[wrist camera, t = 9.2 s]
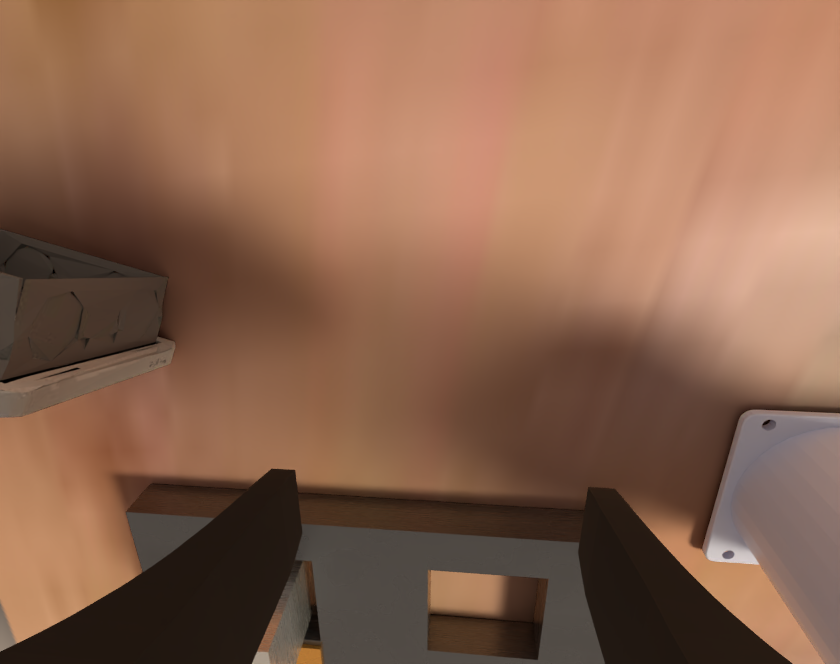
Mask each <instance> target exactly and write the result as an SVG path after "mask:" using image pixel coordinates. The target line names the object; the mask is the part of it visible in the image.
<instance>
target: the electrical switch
mask: <svg viewBox="0 0 840 664" xmlns="http://www.w3.org/2000/svg"><path fill="white" fill-rule="evenodd" d="M27 246H28V247H27ZM25 247H26V248H25ZM44 254H45V255H48V256H49V258H50V259H49V258H48V257H46V256H45V255H44ZM6 260H7V262H6V267H5V265H4V262H5V261H6ZM53 268H54V270H55V274H52V271H53ZM115 271H116V272H118V273H113V272H115ZM167 281H168V277H163V276H160V275H156V274H153V273H150V272H146V271H143V270H139V269H136V268H132V267H129V266H126V265H122V264H119V263H115V262H112V261H108V260H105V259H102V258H98V257H95V256H91V255H88V254H84V253H81V252H78V251H74V250H71V249H67V248H64V247H61V246H57V245H54V244H50V243H47V242H43V241H40V240H37V239H33V238H30V237H26V236H23V235H19V234H16V233H13V232H9V231H6V230H2V229H0V417H22V416H25V415H28V414H30V413H33V412H36V411H39V410H42V409H45V408H47V407H50V406H53V405H56V404H59V403H62V402H64V401H67V400H70V399H73V398H76V397H79V396H81V395H84V394H87V393H90V392H93V391H96V390H98V389H101V388H104V387H107V386H110V385H113V384H115V383H118V382H121V381H124V380H127V379H130V378H132V377H135V376H138V375H141V374H144V373H147V372H149V371H152V370H155V369H158V368H160V367H163V366H166V365H169V364H171V360H172V357H173V354H174V350H175V347H176V346H175V342H174V341H171V340H168V339H164V338H161V337H157V336H158V332H159V328H160V324H161V320H162V303H163V299H164V295H165V290H166V286H167ZM71 292H73V294H74V296H73V294H72V293H71Z"/></svg>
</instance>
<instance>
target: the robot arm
mask: <svg viewBox="0 0 840 664" xmlns="http://www.w3.org/2000/svg"><path fill="white" fill-rule="evenodd" d="M767 420H770V422H769V423H768V424H766V425H762V424H763V423H764V422H765V421H767ZM301 537H302V524H301V516H300V508H299V499H298V491H297V482H296V474H295V470H284V469H271V470H270V471H268V472H267V473H266V474H265V475H264V476H263V477H261V478H260V479H259V480H258V481H257V482H256V483H255V484H253V485H252V486H251V487H250V488H249V489H248V490H247V491H246V492H244V493H243V494H242V495H241V496H240V497H239V498H238V499H236V500H235V501H234V502H233V503H232V504H231V505H230V506H228V507H227V508H226V509H225V510H224V511H223V512H221V513H220V514H219V515H218V516H217V517H215V518H214V519H213V520H212V521H211V522H210V523H208V524H207V525H206V526H205V527H203V528H202V529H201V530H200V531H198V532H197V533H196V534H194V535H193V536H192V537H191V538H189V539H188V540H187V541H186V542H184V543H183V544H182V545H180V546H179V547H178V548H177V549H175V550H174V551H173V552H171V553H170V554H169V555H167V556H166V557H164V558H163V559H162V560H160V561H159V562H157V563H156V564H155V565H153V566H152V567H150V568H149V569H147V570H146V571H144V572H143V573H141V574H140V575H138V576H137V577H135V578H134V579H132V580H131V581H129V582H128V583H126V584H124V585H123V586H121V587H120V588H118V589H116V590H115V591H113V592H111V593H109V594H108V595H106V596H104V597H103V598H101V599H99V600H98V601H96V602H94V603H93V604H91V605H89V606H87V607H86V608H84V609H82V610H81V611H79V612H77V613H75V614H74V615H72V616H70V617H68V618H66V619H64V620H62V621H61V622H59V623H57V624H55V625H53V626H51V627H49V628H47V629H45V630H43V631H42V632H40V633H38V634H36V635H34V636H32V637H30V638H28V639H26V640H24V641H22V642H20V643H17V644H15V645H13V646H11V647H9V648H7V649H5V650H3V651H1V652H0V664H252V662H253V660H254V658H255V655H256V653H257V651H258V648H259V646H260V644H261V641H262V639H263V637H264V635H265V632H266V630H267V628H268V625H269V623H270V621H271V618H272V616H273V614H274V611H275V609H276V607H277V604H278V602H279V600H280V597H281V595H282V593H283V590H284V588H285V586H286V583H287V581H288V578H289V576H290V574H291V571H292V567H293V564H294V561H295V558H296V554H297V551H298V547H299V544H300V540H301ZM702 551H703V553H704V554H705V556H706V558H707V559H709V560H710V561H717V562H731V563H746V564H759V565H760V566H761V568H762V569H763V571H764V572H765V574H766V575H767V577H768V578H769V580H770V581H771V583H772V584H773V586H774V587H775V589H776V590H777V592H778V593H779V595H780V596H781V598H782V599H783V601H784V602H785V604H786V605H787V607H788V609H789V610H790V612H791V613H792V615H793V616H794V618H795V619H796V621H797V622H798V624H799V625H800V627H801V628H802V630H803V631H804V633H805V634H806V636H807V637H808V639H809V640H810V642H811V643H812V645H813V646H814V648H815V649H816V651H817V652H818V654H819V655H820V657H821V659H822V660H823V662H824V663H825V664H840V413H821V412H799V411H776V410H749V411H746V412H744V413H743V414H742V415H741V417H740V418H739V421H738V425H737V428H736V432H735V435H734V439H733V442H732V446H731V449H730V453H729V456H728V460H727V463H726V467H725V470H724V474H723V477H722V481H721V484H720V488H719V491H718V495H717V498H716V502H715V505H714V509H713V512H712V516H711V519H710V523H709V526H708V530H707V533H706V537H705V540H704V544H703V547H702ZM725 551H727V552H725ZM578 555H579V562H580V568H581V574H582V580H583V585H584V591H585V596H586V600H587V603H588V607H589V610H590V614H591V617H592V621H593V624H594V628H595V631H596V635H597V638H598V641H599V645H600V648H601V652H602V655H603V658H604V662H605V664H792V663H791V662H790V661H788V660H787V659H786V658H785V657H783V656H782V655H781V654H779V653H778V652H777V651H776V650H774V649H773V648H772V647H771V646H769V645H768V644H767V643H766V642H765V641H763V640H762V639H761V638H760V637H758V636H757V635H756V634H755V633H754V632H753V631H751V630H750V629H749V628H748V627H747V626H746V625H745V624H743V623H742V622H741V621H740V620H739V619H738V618H737V617H735V616H734V615H733V614H732V613H731V612H730V611H729V610H727V609H726V608H725V607H724V606H723V605H722V604H721V603H720V602H719V601H718V600H717V599H715V598H714V597H713V596H712V595H711V594H710V593H709V592H708V591H707V590H706V589H705V588H704V587H703V586H702V585H701V584H700V583H699V582H698V581H697V580H696V579H695V578H694V577H693V576H692V575H691V574H690V573H689V572H688V571H687V570H686V569H685V568H684V567H683V566H682V565H681V564H680V562H679V561H678V560H677V559H676V558H675V557H674V556H673V555H672V554H671V553H670V552H669V551H668V549H667V548H666V547H665V546H664V545H663V544H662V543H661V542H660V541H659V540H658V538H657V537H656V536H655V535H654V534H653V533H652V532H651V531H650V529H649V528H648V527H647V526H646V525H645V524H644V522H643V521H642V520H641V519H640V518H639V517H638V515H637V514H636V513H635V512H634V511H633V510H632V508H631V507H630V506H629V505H628V504H627V502H626V501H625V500H624V499H623V498H622V497H621V495H620V494H619V493H618V492H617V491H616V490H615V489H609V488H592V487H588V492H587V499H586V505H585V511H584V517H583V524H582V530H581V536H580V542H579V549H578Z"/></svg>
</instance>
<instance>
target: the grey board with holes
mask: <svg viewBox="0 0 840 664" xmlns="http://www.w3.org/2000/svg"><path fill="white" fill-rule="evenodd" d="M246 491H247V490H242V489H226V488H210V487H193V486H177V485H161V484H150V485H149V486H148V487H147V488H146V490H145V491H144V492H143V493H142V494H141V495H140V496H139V498H138V499H137V500H136V501H135V502H134V503H133V504H132V505H131V507H130V508H129V509H128V510H127V511H126V515H127V518H128V522H129V525H130V529H131V532H132V536H133V539H134V543H135V546H136V549H137V553H138V556H139V560H140V563H141V567H142V570H143V572H144V571H146V570H147V569H149V568H150V567H152V566H153V565H155V564H156V563H157V562H159V561H160V560H162V559H163V558H164V557H166V556H167V555H169V554H170V553H171V552H173V551H174V550H175V549H177V548H178V547H179V546H180V545H182V544H183V543H184V542H186V541H187V540H188V539H189V538H191V537H192V536H193V535H194V534H196V533H197V532H198V531H200V530H201V529H202V528H203V527H205V526H206V525H207V524H208V523H210V522H211V521H212V520H213V519H214V518H215V517H217V516H218V515H219V514H220V513H221V512H223V511H224V510H225V509H226V508H227V507H228V506H230V505H231V504H232V503H233V502H234V501H235V500H236V499H238V498H239V497H240V496H241V495H242V494H243V493H244V492H246ZM298 499H299V508H300V516H301V524H302V537H301V540H300V544H299V547H298V551H297V554H296V558H295V560H301V561H312V567H313V576H314V585H315V594H316V603H317V605H315V606H314V609H313V612H312V616H311V619H310V622H309V625H308V628H307V631H306V634H305V637H304V641H303V644H302V647H301V650H300V653H299V656H298V659H297V663H296V664H605V662H604V658H603V655H602V652H601V648H600V645H599V641H598V638H597V635H596V631H595V628H594V624H593V621H592V617H591V614H590V610H589V607H588V603H587V600H586V596H585V591H584V585H583V580H582V574H581V568H580V562H579V555H578V549H579V542H580V536H581V530H582V524H583V517H584V511H578V510H562V509H546V508H530V507H514V506H498V505H482V504H466V503H450V502H434V501H418V500H402V499H386V498H370V497H354V496H338V495H322V494H306V493H298ZM431 570H437V571H450V572H464V573H477V574H491V575H504V576H518V577H531V578H539V580H538V588H537V596H536V604H535V612H534V620H533V623H526V622H514V621H502V620H490V619H477V618H465V617H453V616H440V615H430V584H431Z"/></svg>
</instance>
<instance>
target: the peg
mask: <svg viewBox="0 0 840 664" xmlns="http://www.w3.org/2000/svg"><path fill="white" fill-rule="evenodd" d="M315 603H316V594H315V585H314V576H313V567H312V561H301V560H295V561H294V564H293V567H292V571H291V574H290V576H289V578H288V581H287V583H286V586H285V588H284V590H283V593H282V595H281V597H280V600H279V602H278V604H277V607H276V609H275V611H274V614H273V616H272V618H271V621H270V623H269V625H268V628H267V630H266V632H265V635H264V637H263V639H262V641H261V644H260V646H259V648H258V651H257V653H256V655H255V658H254V660H253V662H252V664H296V663H297V659H298V656H299V653H300V650H301V647H302V644H303V641H304V637H305V634H306V631H307V628H308V625H309V622H310V619H311V616H312V612H313V609H314V606H315Z"/></svg>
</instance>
